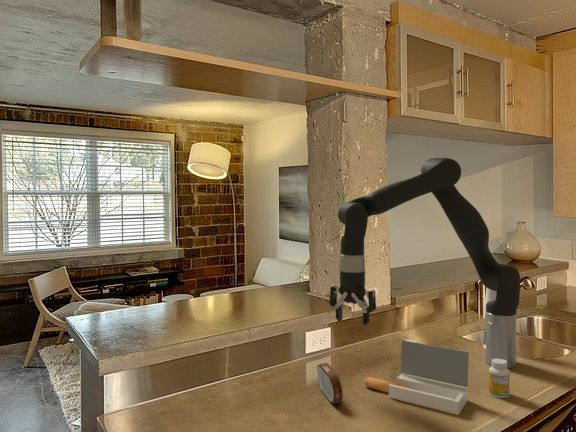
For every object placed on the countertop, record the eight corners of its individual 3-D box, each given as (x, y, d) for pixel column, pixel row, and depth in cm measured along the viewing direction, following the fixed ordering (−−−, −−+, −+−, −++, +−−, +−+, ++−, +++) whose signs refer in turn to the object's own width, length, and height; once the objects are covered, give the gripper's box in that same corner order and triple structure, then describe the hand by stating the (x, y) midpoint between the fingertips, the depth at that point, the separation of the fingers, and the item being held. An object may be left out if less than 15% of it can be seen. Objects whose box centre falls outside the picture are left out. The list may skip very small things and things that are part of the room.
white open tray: (401, 384, 139) (401, 373, 139) (467, 400, 128) (467, 387, 128) (388, 397, 131) (388, 385, 130) (458, 415, 120) (458, 401, 120)
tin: (343, 408, 125) (343, 377, 124) (332, 409, 124) (332, 378, 124) (325, 385, 140) (325, 358, 139) (315, 386, 139) (315, 359, 138)
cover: (400, 372, 138) (401, 371, 139) (467, 387, 127) (468, 386, 128) (401, 340, 138) (402, 340, 139) (468, 352, 127) (468, 351, 128)
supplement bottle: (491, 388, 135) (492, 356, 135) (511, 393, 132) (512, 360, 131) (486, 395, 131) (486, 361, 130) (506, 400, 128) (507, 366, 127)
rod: (367, 384, 140) (367, 374, 140) (408, 394, 133) (408, 384, 132) (362, 388, 137) (362, 378, 137) (405, 398, 130) (405, 388, 130)
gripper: (379, 269, 137) (379, 323, 138) (337, 265, 145) (337, 316, 146) (369, 273, 131) (369, 329, 132) (325, 268, 139) (325, 322, 140)
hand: (352, 322), depth 139 cm, fingers open, 8 cm apart
